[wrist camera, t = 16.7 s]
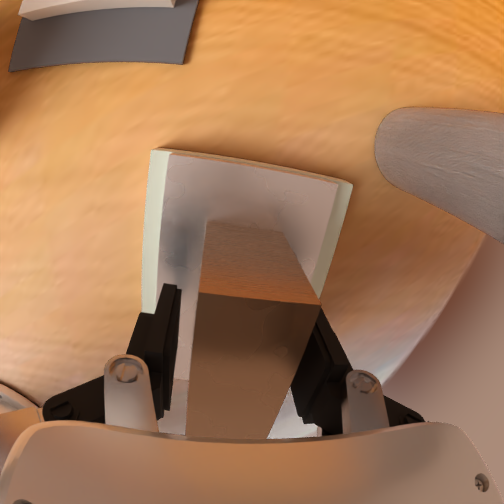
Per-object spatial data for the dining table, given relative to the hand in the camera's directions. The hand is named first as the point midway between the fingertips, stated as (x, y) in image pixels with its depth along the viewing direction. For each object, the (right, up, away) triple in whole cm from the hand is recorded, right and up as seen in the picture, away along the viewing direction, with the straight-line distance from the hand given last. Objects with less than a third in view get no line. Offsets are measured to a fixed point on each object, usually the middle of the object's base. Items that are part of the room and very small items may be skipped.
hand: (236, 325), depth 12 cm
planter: (+9, +9, +2) cm, 12 cm away
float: (0, +1, +3) cm, 3 cm away
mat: (-6, +17, -4) cm, 19 cm away
